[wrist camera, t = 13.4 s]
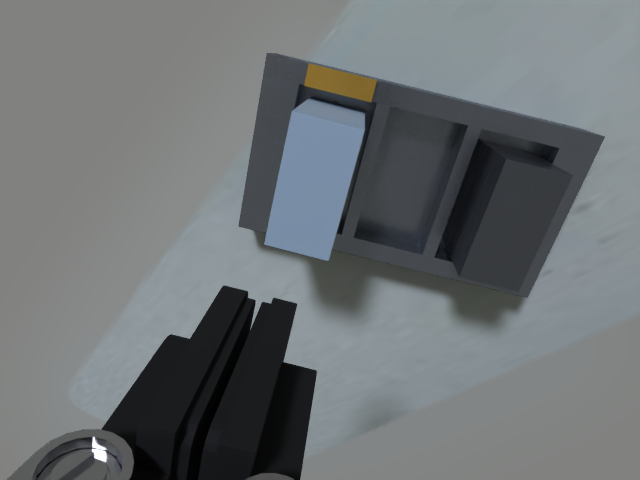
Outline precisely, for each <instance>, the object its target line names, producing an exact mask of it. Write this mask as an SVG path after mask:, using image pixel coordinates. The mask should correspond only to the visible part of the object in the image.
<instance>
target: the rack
mask: <svg viewBox="0 0 640 480" xmlns="http://www.w3.org/2000/svg"><path fill="white" fill-rule="evenodd" d="M310 97H315V98H318V99H322V100H326V101H330V102H334V103H337V104H341V105H345V106H349V107H353V108H356V109H360V110H364V111H365V131H364V135H363V140H362V144H361V147H360V151H359V155H358V158H357V162H356V165H355V169H354V173H353V176H352V180H351V183H350V187H349V191H348V194H347V198H346V201H345V205H344V209H343V212H342V216H341V219H340V223H339V227H338V230H337V234H336V237H335V241H334V245H333V248H332V250H336V251H340V252H344V253H348V254H352V255H356V256H360V257H364V258H368V259H372V260H377V261H381V262H385V263H389V264H393V265H397V266H401V267H405V268H409V269H413V270H417V271H421V272H425V273H429V274H433V275H437V276H441V277H445V278H449V279H453V280H457V281H462V282H466V283H470V284H474V285H478V286H482V287H486V288H490V289H494V290H498V291H502V292H506V293H510V294H514V295H518V296H522V297H526V298H527V297H528V295H529V293H530V291H531V289H532V287H533V285H534V283H535V281H536V279H537V277H538V275H539V272H540V270H541V268H542V266H543V264H544V262H545V260H546V258H547V256H548V254H549V252H550V250H551V248H552V245H553V243H554V241H555V239H556V237H557V235H558V233H559V231H560V229H561V227H562V225H563V223H564V221H565V219H566V216H567V214H568V212H569V210H570V208H571V206H572V204H573V202H574V200H575V198H576V196H577V194H578V192H579V190H580V187H581V185H582V183H583V181H584V179H585V177H586V175H587V173H588V171H589V169H590V167H591V165H592V163H593V160H594V158H595V156H596V154H597V152H598V150H599V148H600V146H601V144H602V142H603V140H604V138H605V137H604V136H601V135H598V134H595V133H592V132H589V131H586V130H583V129H580V128H575V127H571V126H567V125H563V124H559V123H555V122H551V121H547V120H543V119H539V118H535V117H531V116H527V115H523V114H519V113H515V112H511V111H507V110H503V109H499V108H495V107H491V106H487V105H483V104H478V103H474V102H470V101H466V100H462V99H458V98H454V97H450V96H446V95H442V94H438V93H434V92H430V91H426V90H422V89H418V88H414V87H410V86H406V85H402V84H398V83H394V82H390V81H386V80H382V79H377V78H373V77H369V76H365V75H361V74H357V73H353V72H349V71H345V70H341V69H337V68H333V67H329V66H325V65H321V64H317V63H313V62H309V61H305V60H301V59H296V58H293V57H288V56H284V55H280V54H276V53H267V56H266V62H265V69H264V74H263V80H262V87H261V93H260V98H259V105H258V111H257V117H256V123H255V129H254V135H253V141H252V147H251V153H250V159H249V166H248V172H247V178H246V184H245V190H244V196H243V202H242V208H241V214H240V220H239V227H243V228H247V229H251V230H255V231H259V232H263V233H267V228H268V223H269V218H270V214H271V209H272V204H273V199H274V194H275V190H276V185H277V180H278V175H279V170H280V165H281V161H282V156H283V151H284V146H285V141H286V137H287V132H288V127H289V122H290V118H291V113H292V111H293V110H294V109H295V108H297V107H298V106H299V105H301V104H302V103H303V102H305V101H306V100H307V99H309V98H310Z"/></svg>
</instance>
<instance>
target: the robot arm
mask: <svg viewBox="0 0 640 480" xmlns="http://www.w3.org/2000/svg"><path fill="white" fill-rule="evenodd" d="M296 307H297V304H296V303H292V302H288V301H284V300H280V299H276V298H273V300H272V303H271V304H269V303H265V302H262V304H261V306H260V309H259V311H258V314H257V316H256V318H255V321H254V323H253V325H252V328H251V323H252V318H253V313H254V308H255V300H253V299H249V298H248V291H244V290H240V289H236V288H232V287H228V286H223V287H222V288H221V290H220V291H219V293H218V295H217V296H216V298H215V299H214V301H213V303H212V304H211V306H210V307H209V309H208V311H207V312H206V314H205V316H204V317H203V319H202V320H201V322H200V324H199V325H198V327H197V328H196V330H195V332H194V333H193V335H192V337H191V338H190V339H188V338H184V337H180V336H176V335H172V334H171V335H169V336H168V337H167V338H166V339H165V340H164V342H163V343H162V344H161V346H160V347H159V349H158V350H157V352H156V353H155V354H154V356H153V357H152V359H151V360H150V361H149V363H148V364H147V366H146V367H145V369H144V370H143V371H142V373H141V374H140V376H139V377H138V378H137V380H136V381H135V383H134V384H133V386H132V387H131V388H130V390H129V391H128V393H127V394H126V395H125V397H124V398H123V400H122V401H121V403H120V404H119V405H118V407H117V408H116V410H115V411H114V412H113V414H112V415H111V417H110V418H109V420H108V421H107V422H106V424H105V425H104V427H103V428H102V429H101V430H100V429H83V430H79V431H74V432H70V433H66V434H64V435H62V436H60V437H58V438H56V439H53V440H51V441H49V442H48V443H47V444H45V445H44V446H43V447H42V448H40V449H39V450H38V451H36V452H35V453H34V454H33V455H32V456H31V457H30V458H29V459H28V460H27V461H26V462H24V463H23V465H21V466H20V467H19V468H18V469H17V470H16V471H15V472H14V473H13V474H12V475H11V476H10V477H9V478H8V479H7V480H300V477H301V470H302V464H303V458H304V451H305V445H306V438H307V432H308V426H309V419H310V413H311V406H312V400H313V394H314V387H315V381H316V374H317V371H316V370H312V369H308V368H304V367H300V366H296V365H292V364H288V363H284V362H283V361H284V357H285V353H286V348H287V344H288V340H289V336H290V332H291V328H292V324H293V319H294V315H295V311H296ZM250 328H251V330H250Z"/></svg>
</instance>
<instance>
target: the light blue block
mask: <svg viewBox="0 0 640 480" xmlns="http://www.w3.org/2000/svg"><path fill="white" fill-rule="evenodd" d="M364 131H365V111H364V110H360V109H356V108H353V107H349V106H345V105H341V104H337V103H334V102H330V101H326V100H322V99H318V98H315V97H310V98H309V99H307V100H306V101H305V102H303V103H302V104H301V105H299V106H298V107H297V108H295V109H294V110H293V111H292V113H291V118H290V122H289V127H288V132H287V137H286V141H285V146H284V151H283V156H282V161H281V165H280V170H279V175H278V180H277V185H276V190H275V194H274V199H273V204H272V209H271V214H270V218H269V223H268V228H267V233H266V238H265V243H264V245H268V246H272V247H276V248H280V249H283V250H287V251H291V252H295V253H299V254H303V255H307V256H310V257H314V258H318V259H322V260H326V261H329V257H330V254H331V251H332V248H333V245H334V241H335V237H336V234H337V230H338V227H339V223H340V219H341V216H342V212H343V209H344V205H345V201H346V198H347V194H348V191H349V187H350V183H351V180H352V176H353V173H354V169H355V165H356V162H357V158H358V155H359V151H360V147H361V144H362V140H363V135H364Z"/></svg>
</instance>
